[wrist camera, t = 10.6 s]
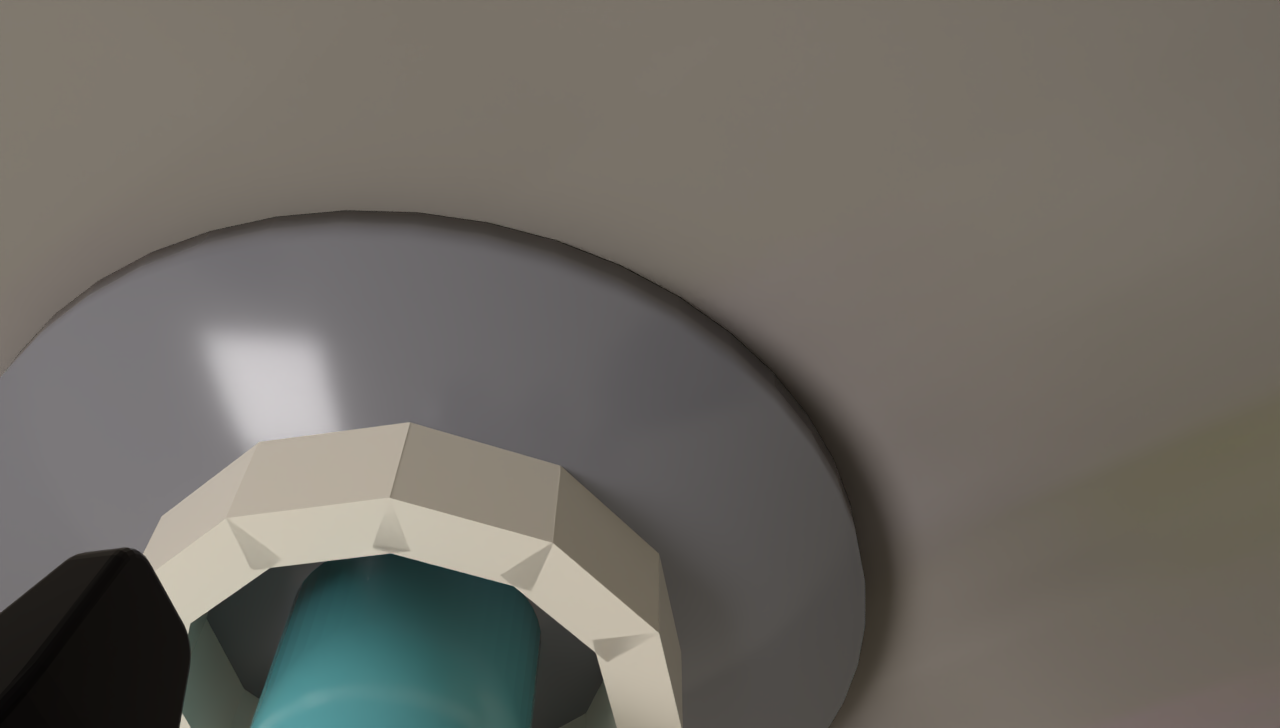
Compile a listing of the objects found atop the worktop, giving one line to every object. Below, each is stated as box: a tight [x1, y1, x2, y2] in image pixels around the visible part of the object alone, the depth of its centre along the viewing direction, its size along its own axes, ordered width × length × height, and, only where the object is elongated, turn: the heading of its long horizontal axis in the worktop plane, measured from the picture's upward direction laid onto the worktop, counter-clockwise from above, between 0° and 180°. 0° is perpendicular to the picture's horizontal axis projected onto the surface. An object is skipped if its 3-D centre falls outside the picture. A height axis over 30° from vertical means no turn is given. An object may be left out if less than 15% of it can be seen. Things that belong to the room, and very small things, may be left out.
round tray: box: [0, 211, 865, 728], centre depth 24 cm, size 18×18×3 cm
